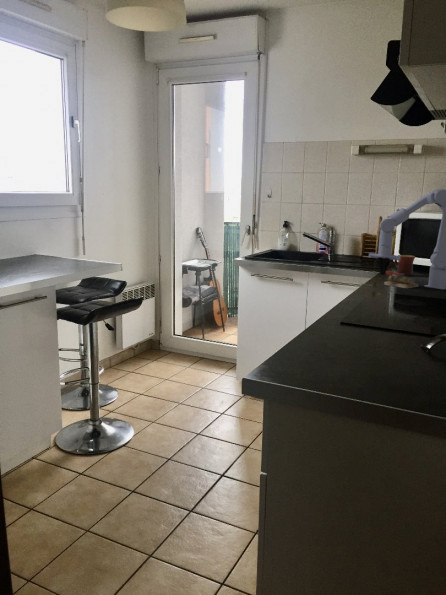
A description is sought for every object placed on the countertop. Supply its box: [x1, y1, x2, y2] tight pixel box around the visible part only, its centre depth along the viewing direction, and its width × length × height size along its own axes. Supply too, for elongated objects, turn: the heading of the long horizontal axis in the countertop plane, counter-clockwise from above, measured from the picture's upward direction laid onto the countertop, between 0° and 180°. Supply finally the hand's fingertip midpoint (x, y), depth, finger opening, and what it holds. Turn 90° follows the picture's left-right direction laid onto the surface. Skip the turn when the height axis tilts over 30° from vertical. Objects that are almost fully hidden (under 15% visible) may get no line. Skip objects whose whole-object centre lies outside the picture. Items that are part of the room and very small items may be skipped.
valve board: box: [383, 275, 419, 289], centre depth 231 cm, size 12×9×4 cm
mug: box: [393, 254, 416, 277], centre depth 263 cm, size 12×9×10 cm
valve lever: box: [385, 270, 405, 277], centre depth 234 cm, size 9×2×1 cm, turn 37°
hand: (382, 274), depth 233 cm, fingers closed
